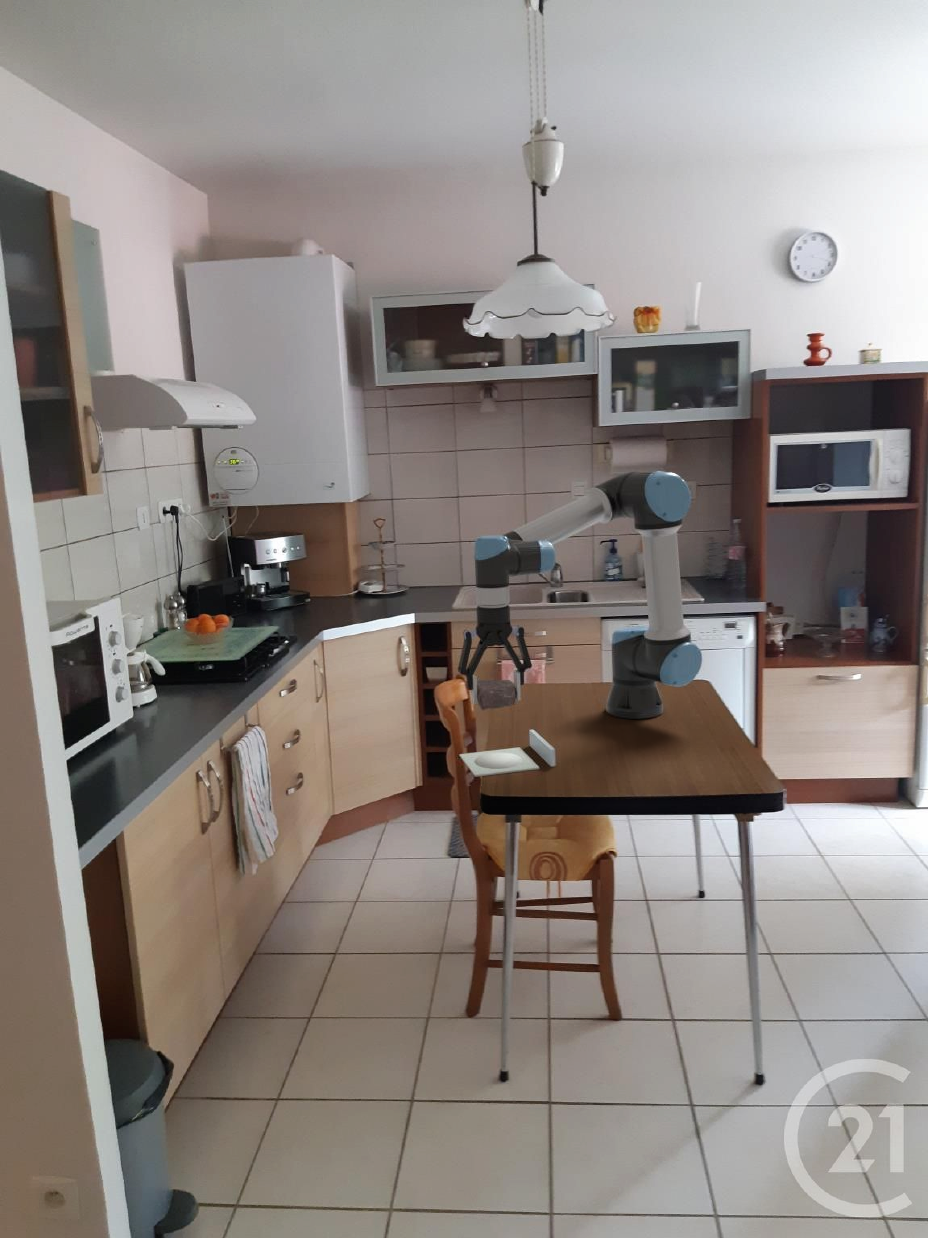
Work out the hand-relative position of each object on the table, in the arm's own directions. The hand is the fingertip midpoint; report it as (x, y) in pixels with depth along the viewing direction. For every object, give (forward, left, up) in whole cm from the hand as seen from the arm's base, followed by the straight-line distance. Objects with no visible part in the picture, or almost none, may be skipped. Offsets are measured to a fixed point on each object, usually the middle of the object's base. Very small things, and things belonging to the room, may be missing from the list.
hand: (496, 701), depth 212 cm
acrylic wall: (-11, -1, -15) cm, 18 cm away
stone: (0, -1, -1) cm, 1 cm away
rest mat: (0, 0, -15) cm, 15 cm away
